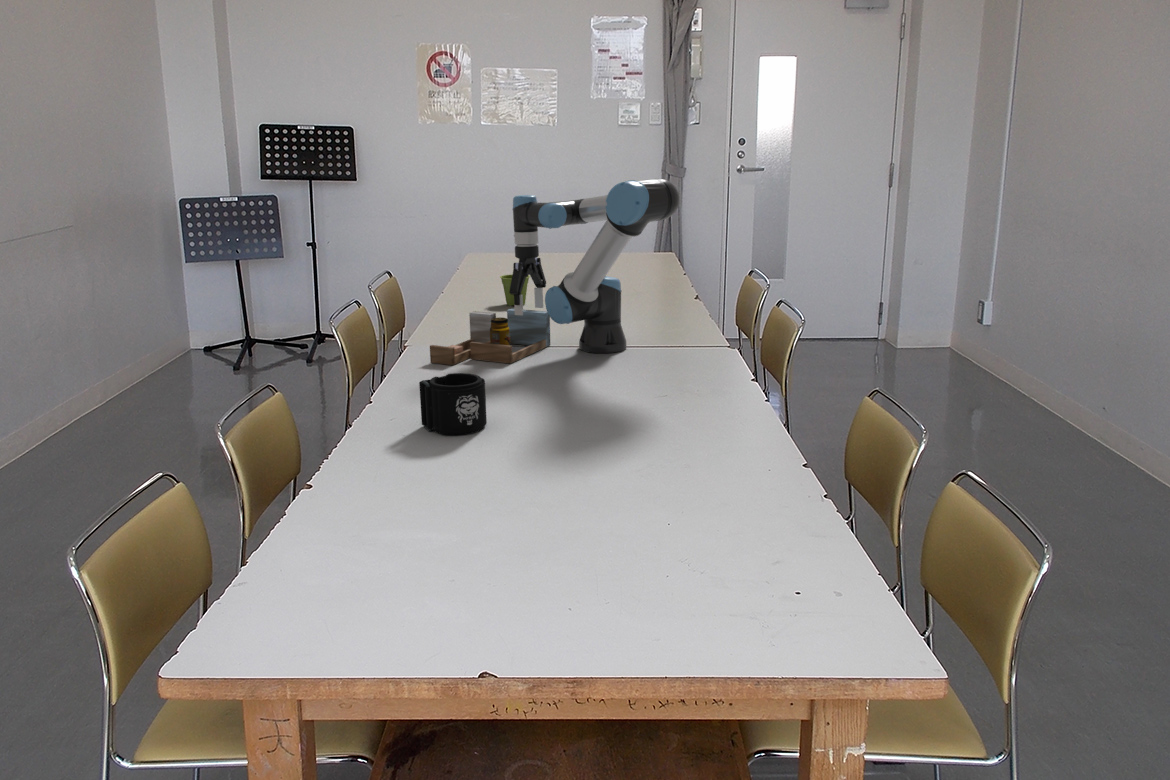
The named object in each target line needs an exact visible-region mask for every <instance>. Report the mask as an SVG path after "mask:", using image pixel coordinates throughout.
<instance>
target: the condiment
mask: <svg viewBox="0 0 1170 780" xmlns="http://www.w3.org/2000/svg"><path fill="white" fill-rule="evenodd" d="M509 332H510V331H509V327H508V319H507V317H501V316H499V317H496V318H492V319H491V327H490V344H500V345H509V346H511V344H510V335H509Z"/></svg>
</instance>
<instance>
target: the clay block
mask: <svg viewBox="0 0 1170 780" xmlns="http://www.w3.org/2000/svg"><path fill="white" fill-rule="evenodd" d="M447 347H454V351H455V355H456V354H458V353H461V352H463V346H457V344H454V345H453V344H451V345H448V346H447Z"/></svg>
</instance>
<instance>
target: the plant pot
mask: <svg viewBox="0 0 1170 780" xmlns="http://www.w3.org/2000/svg"><path fill="white" fill-rule="evenodd" d="M512 275H513V273H512V274H504V275H500V276H499V278H500V279H501V284H502V287H503V292H504V298H505V302H506V305H507V306H509V307H512V306H514V295H511V294H510V293H509V291H510V285H511V280H512ZM530 278H531V276H530V275H528V277H526V279H525V282H524V286H523V289H522V292H521V295H523V306H524V305H525V304H526V300H527V291H528V284H529V279H530Z"/></svg>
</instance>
